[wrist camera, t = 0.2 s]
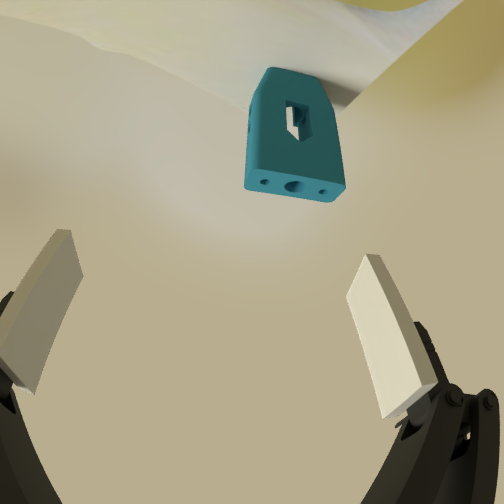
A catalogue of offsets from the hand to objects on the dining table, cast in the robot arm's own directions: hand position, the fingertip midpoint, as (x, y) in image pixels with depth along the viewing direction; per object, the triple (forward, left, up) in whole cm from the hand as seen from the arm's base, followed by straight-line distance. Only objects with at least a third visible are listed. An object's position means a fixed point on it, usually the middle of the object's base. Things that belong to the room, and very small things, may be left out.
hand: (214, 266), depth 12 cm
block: (+20, -1, -35) cm, 41 cm away
